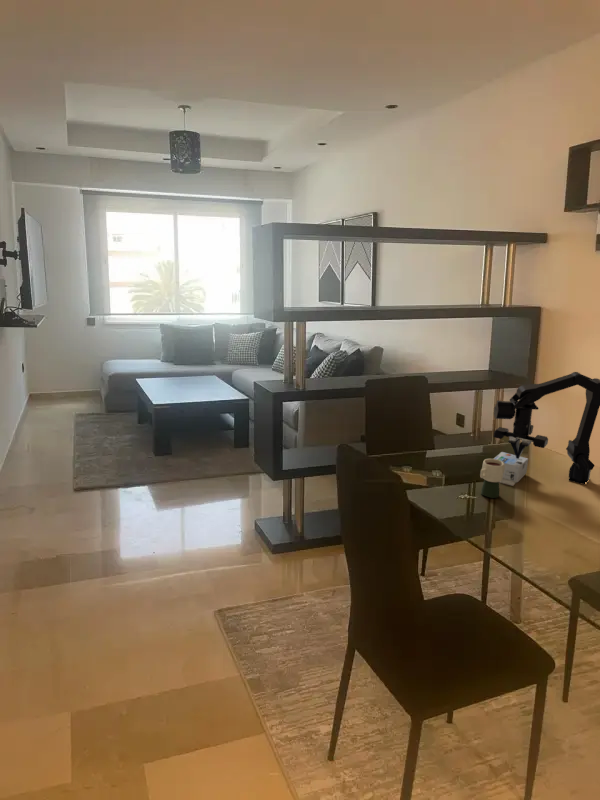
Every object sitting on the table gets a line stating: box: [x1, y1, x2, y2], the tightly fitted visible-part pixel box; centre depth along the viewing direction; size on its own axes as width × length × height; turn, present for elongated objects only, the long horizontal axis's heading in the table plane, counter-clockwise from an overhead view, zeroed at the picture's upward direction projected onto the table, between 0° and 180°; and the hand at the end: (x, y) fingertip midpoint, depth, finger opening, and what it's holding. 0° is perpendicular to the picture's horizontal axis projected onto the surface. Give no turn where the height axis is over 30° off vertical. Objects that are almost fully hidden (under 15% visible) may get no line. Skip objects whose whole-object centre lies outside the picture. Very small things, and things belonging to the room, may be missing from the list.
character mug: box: [479, 458, 505, 499], centre depth 213 cm, size 11×7×13 cm, turn 116°
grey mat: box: [499, 478, 517, 487], centre depth 233 cm, size 12×16×1 cm
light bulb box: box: [493, 451, 529, 483], centre depth 231 cm, size 11×7×11 cm
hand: (517, 458), depth 228 cm, fingers closed
